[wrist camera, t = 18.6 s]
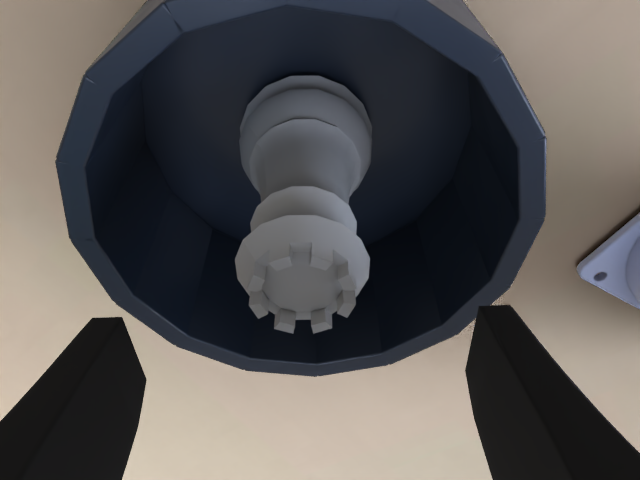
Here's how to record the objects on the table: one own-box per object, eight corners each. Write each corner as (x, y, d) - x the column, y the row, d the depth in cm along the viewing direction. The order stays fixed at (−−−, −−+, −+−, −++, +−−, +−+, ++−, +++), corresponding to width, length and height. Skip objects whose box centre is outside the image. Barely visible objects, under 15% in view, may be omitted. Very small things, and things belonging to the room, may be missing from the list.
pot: (566, 64, 18) (657, 157, 13) (357, 297, 24) (367, 414, 20) (217, -183, 14) (165, -178, 9) (81, 178, 20) (11, 289, 16)
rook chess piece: (218, 148, 19) (170, 317, 13) (284, 41, 17) (265, 182, 10) (324, 205, 20) (328, 380, 14) (398, 114, 18) (441, 276, 12)
